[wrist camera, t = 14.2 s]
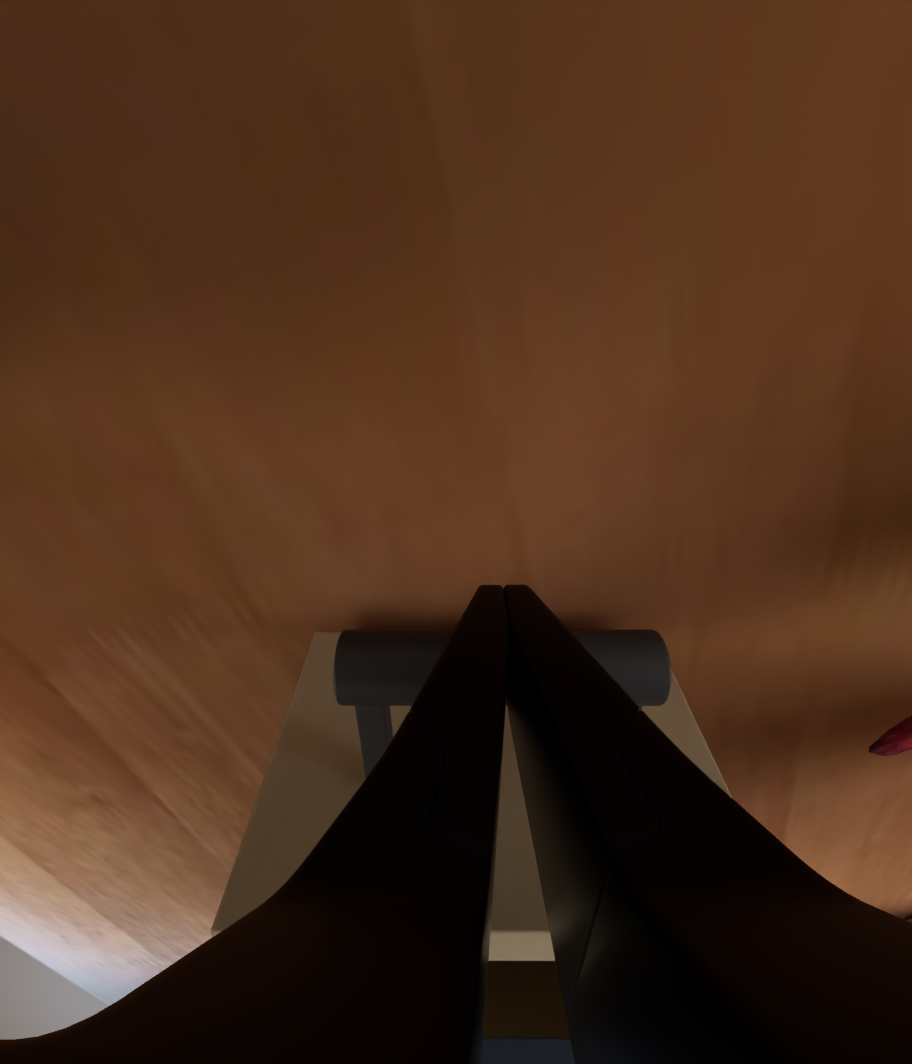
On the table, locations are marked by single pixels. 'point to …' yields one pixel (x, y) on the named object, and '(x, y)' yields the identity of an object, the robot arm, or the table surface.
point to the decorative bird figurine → (894, 740)
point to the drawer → (359, 742)
